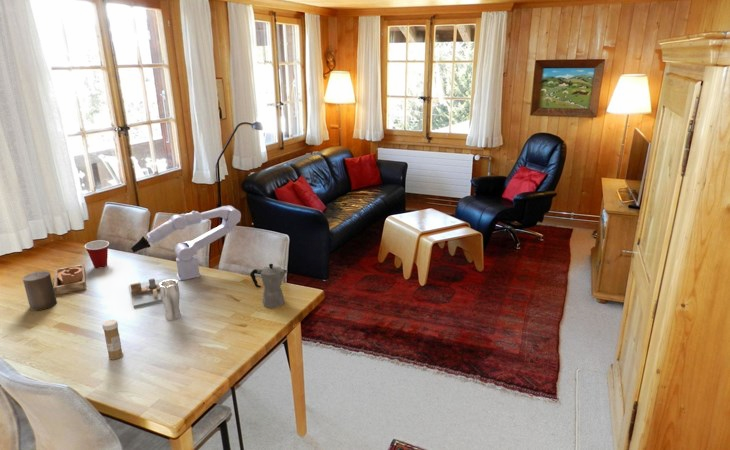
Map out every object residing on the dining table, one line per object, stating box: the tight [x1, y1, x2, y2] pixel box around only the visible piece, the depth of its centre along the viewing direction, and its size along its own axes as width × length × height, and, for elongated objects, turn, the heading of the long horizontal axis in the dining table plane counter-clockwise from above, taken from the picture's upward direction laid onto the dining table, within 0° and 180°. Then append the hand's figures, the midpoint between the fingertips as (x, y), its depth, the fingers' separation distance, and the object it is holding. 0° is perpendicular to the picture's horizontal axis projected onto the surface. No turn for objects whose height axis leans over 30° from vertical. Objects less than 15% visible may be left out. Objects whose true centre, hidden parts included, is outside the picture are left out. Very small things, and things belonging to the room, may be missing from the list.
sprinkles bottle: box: [101, 319, 124, 361], centre depth 167 cm, size 5×5×14 cm
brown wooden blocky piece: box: [130, 281, 160, 295], centre depth 213 cm, size 11×5×4 cm, turn 119°
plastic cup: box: [84, 239, 110, 269], centre depth 242 cm, size 11×11×12 cm
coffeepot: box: [249, 263, 288, 309], centre depth 204 cm, size 15×9×18 cm, turn 92°
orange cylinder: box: [57, 267, 83, 286], centre depth 225 cm, size 18×8×7 cm, turn 46°
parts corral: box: [53, 264, 87, 296], centre depth 226 cm, size 12×23×4 cm, turn 29°
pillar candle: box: [22, 270, 58, 311], centre depth 203 cm, size 10×10×15 cm
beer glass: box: [160, 279, 182, 322], centre depth 193 cm, size 7×7×15 cm
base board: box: [128, 276, 173, 309], centre depth 215 cm, size 18×22×6 cm
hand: (132, 250), depth 215 cm, fingers open, 7 cm apart
